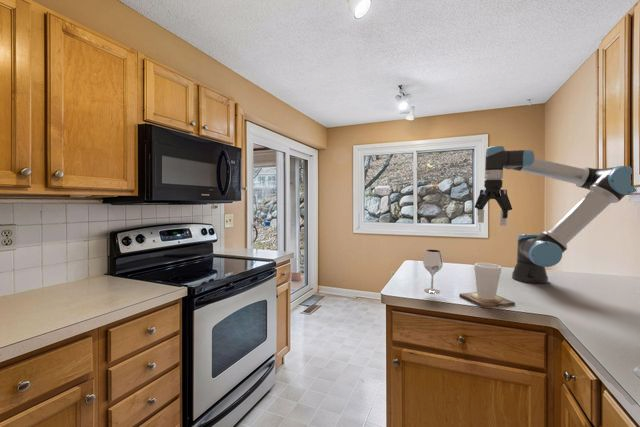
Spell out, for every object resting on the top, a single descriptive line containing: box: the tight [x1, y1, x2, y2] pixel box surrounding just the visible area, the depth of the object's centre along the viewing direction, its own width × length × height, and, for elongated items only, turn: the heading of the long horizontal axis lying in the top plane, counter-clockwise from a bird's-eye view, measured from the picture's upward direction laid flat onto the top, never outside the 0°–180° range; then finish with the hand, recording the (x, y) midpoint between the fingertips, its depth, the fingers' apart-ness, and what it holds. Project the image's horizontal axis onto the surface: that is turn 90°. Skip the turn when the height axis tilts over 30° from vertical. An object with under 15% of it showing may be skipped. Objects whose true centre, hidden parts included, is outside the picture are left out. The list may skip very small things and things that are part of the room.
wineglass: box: [422, 249, 444, 294], centre depth 138 cm, size 8×8×18 cm
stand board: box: [459, 291, 516, 309], centre depth 127 cm, size 14×14×2 cm
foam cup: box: [473, 262, 502, 300], centre depth 126 cm, size 10×9×13 cm
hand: (491, 224), depth 151 cm, fingers open, 13 cm apart
